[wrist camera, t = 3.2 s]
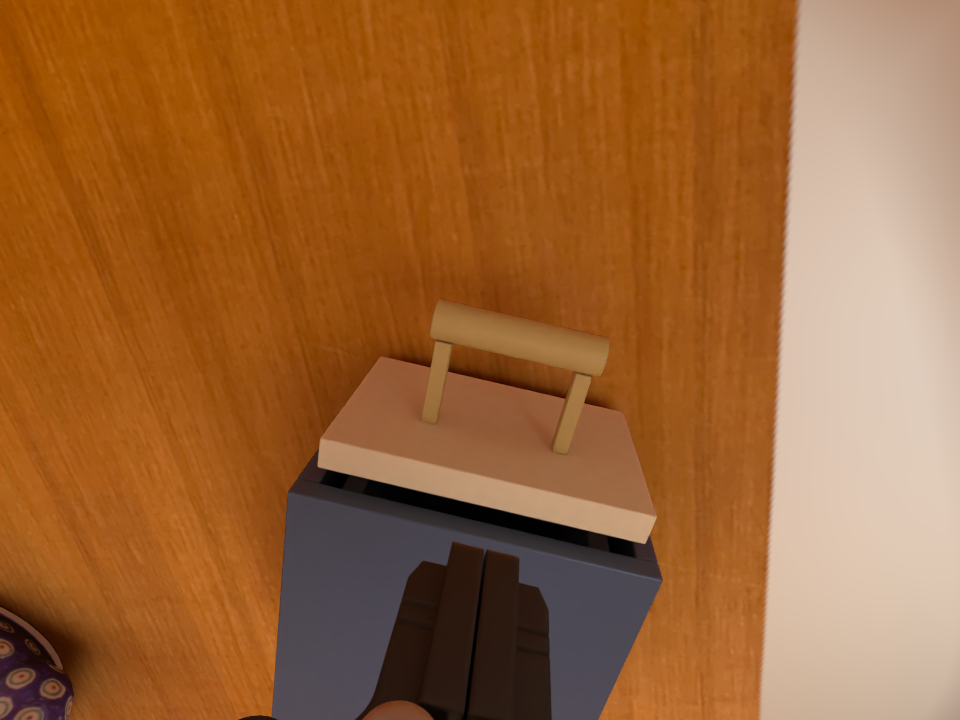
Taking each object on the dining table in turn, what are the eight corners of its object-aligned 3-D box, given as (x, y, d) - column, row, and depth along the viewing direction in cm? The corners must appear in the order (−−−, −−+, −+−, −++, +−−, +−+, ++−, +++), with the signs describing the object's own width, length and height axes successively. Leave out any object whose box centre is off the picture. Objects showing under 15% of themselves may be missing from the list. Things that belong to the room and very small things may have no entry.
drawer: (394, 255, 22) (332, 304, 15) (658, 315, 22) (711, 391, 15) (349, 572, 29) (293, 700, 23) (548, 619, 29) (551, 762, 22)
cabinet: (369, 377, 26) (286, 491, 17) (622, 436, 25) (664, 580, 17) (339, 593, 31) (267, 758, 23) (546, 642, 31) (549, 826, 23)
